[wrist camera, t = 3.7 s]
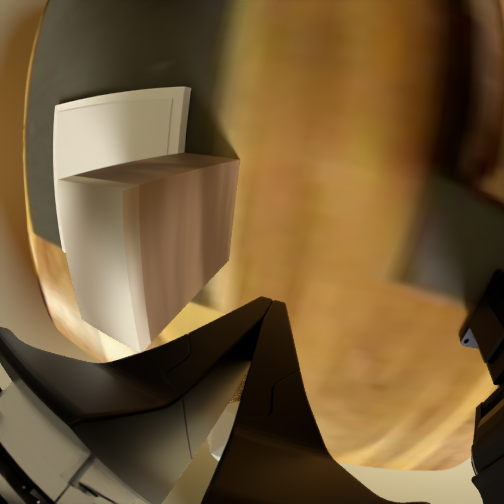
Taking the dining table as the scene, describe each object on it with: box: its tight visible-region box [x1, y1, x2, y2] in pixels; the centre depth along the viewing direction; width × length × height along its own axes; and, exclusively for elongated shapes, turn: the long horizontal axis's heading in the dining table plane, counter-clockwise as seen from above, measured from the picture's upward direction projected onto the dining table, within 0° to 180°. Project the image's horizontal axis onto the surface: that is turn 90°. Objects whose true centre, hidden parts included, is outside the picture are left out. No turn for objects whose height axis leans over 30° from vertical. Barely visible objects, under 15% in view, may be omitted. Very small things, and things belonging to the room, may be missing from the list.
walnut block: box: [57, 152, 240, 353], centre depth 14 cm, size 4×7×10 cm, turn 172°
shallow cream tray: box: [53, 87, 191, 253], centre depth 20 cm, size 16×16×1 cm
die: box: [207, 401, 240, 461], centre depth 22 cm, size 8×9×10 cm
